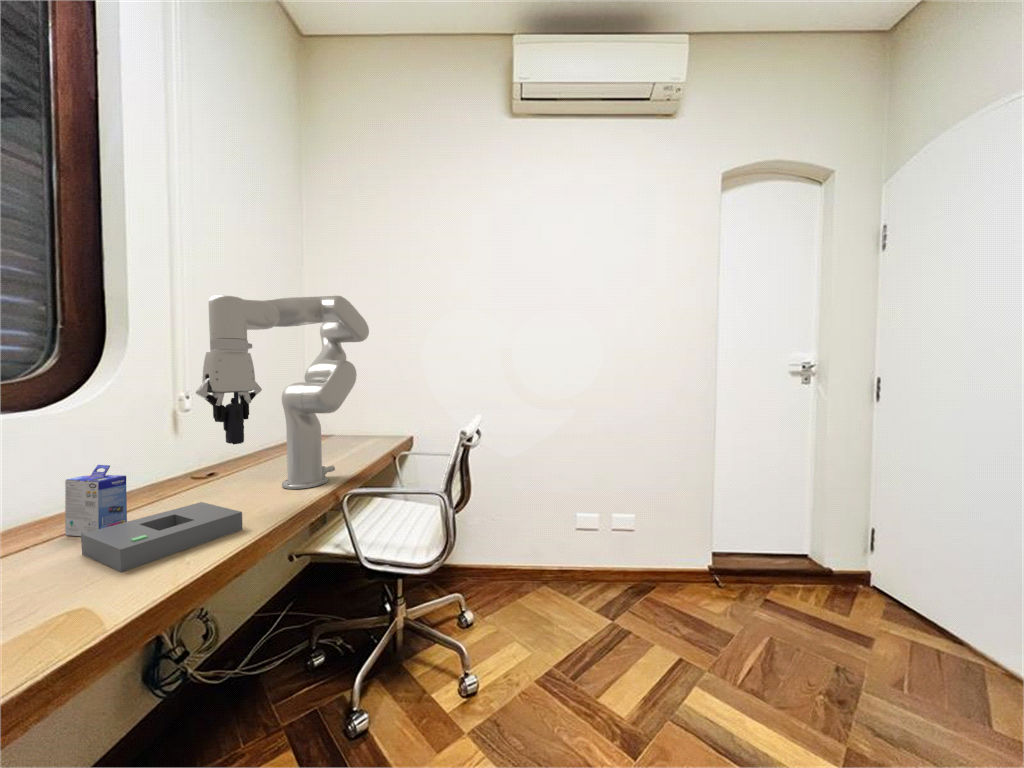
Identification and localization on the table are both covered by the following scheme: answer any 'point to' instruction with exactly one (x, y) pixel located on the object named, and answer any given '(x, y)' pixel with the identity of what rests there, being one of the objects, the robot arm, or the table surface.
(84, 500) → the ink cartridge box
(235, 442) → the two-way radio
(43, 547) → the table surface
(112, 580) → the table surface
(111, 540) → the charging cradle
